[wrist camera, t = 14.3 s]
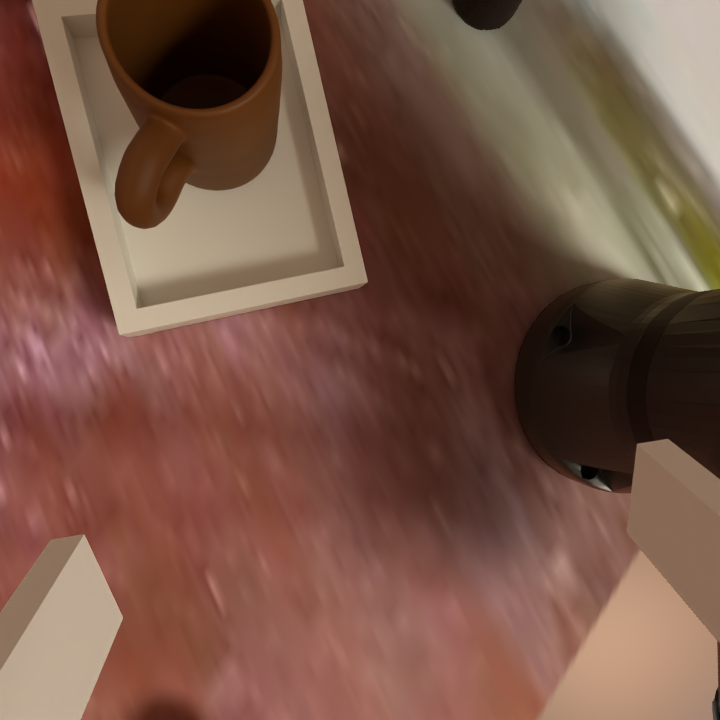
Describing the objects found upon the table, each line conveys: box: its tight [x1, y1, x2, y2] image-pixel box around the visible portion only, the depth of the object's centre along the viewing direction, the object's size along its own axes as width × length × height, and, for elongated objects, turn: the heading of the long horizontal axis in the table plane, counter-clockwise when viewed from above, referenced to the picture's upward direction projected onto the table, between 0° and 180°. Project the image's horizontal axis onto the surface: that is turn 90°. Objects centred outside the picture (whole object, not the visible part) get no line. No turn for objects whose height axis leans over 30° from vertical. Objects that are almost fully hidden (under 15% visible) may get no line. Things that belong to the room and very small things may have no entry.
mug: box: [96, 0, 282, 229], centre depth 24 cm, size 12×8×9 cm, turn 159°
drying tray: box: [32, 0, 368, 337], centre depth 28 cm, size 14×18×3 cm
